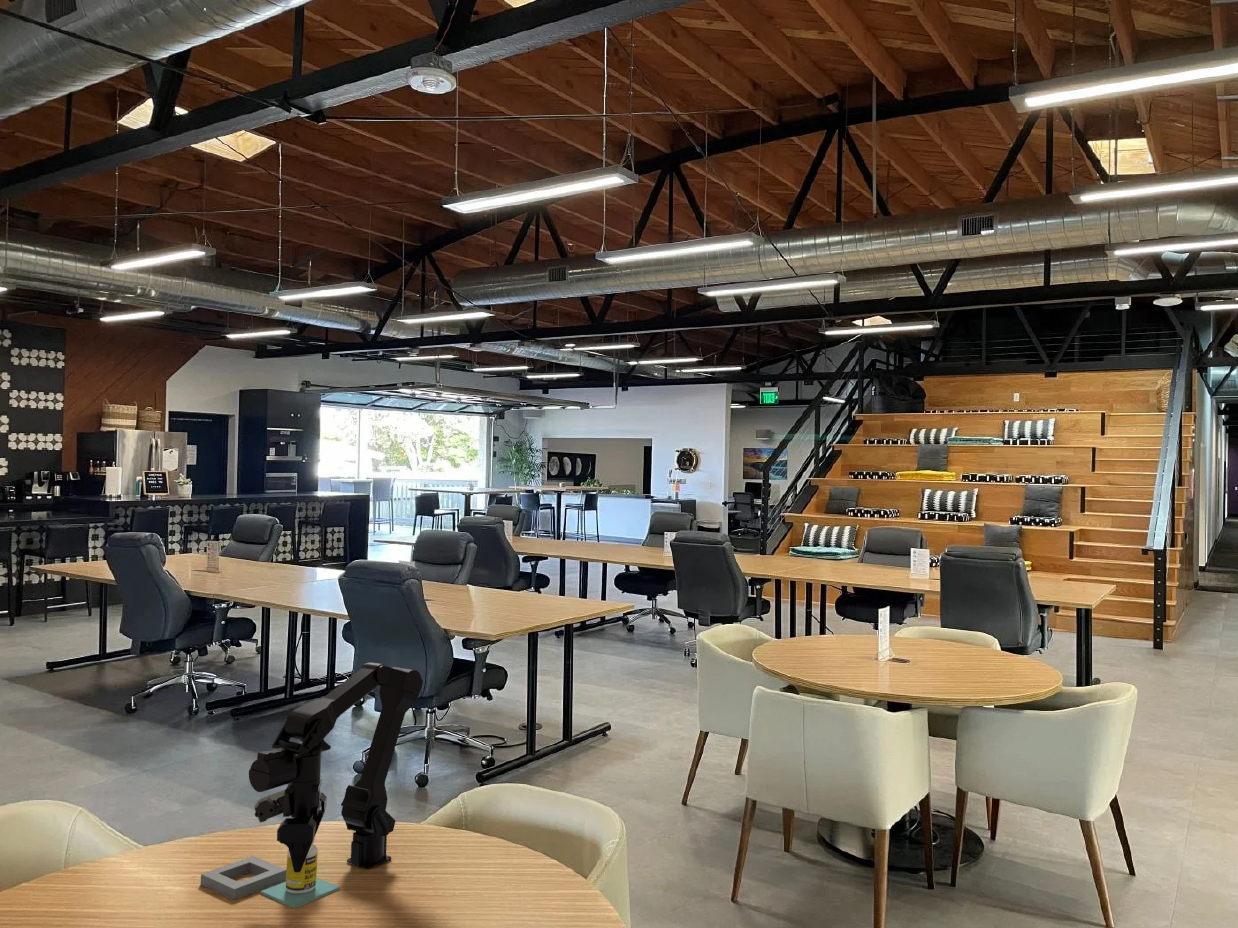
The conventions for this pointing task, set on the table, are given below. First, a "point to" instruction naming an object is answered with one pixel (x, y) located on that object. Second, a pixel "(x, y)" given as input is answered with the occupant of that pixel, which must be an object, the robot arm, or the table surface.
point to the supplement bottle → (302, 873)
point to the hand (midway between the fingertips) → (301, 861)
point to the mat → (299, 899)
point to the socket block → (232, 889)
